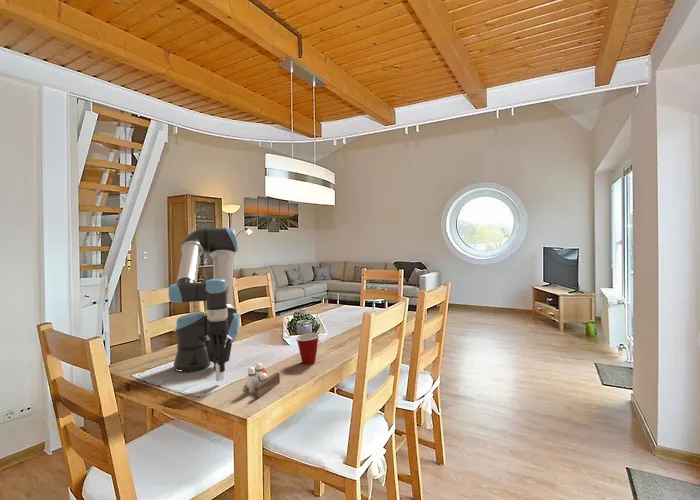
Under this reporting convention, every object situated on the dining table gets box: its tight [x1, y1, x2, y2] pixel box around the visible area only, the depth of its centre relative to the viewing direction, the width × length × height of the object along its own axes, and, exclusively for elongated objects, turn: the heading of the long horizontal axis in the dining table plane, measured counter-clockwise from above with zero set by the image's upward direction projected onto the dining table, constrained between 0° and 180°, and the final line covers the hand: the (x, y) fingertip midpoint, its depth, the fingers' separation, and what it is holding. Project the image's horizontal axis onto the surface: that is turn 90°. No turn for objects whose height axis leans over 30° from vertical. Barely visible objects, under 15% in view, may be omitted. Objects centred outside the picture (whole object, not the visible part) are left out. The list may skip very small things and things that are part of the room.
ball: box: [254, 366, 268, 378], centre depth 153 cm, size 6×6×6 cm
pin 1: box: [247, 366, 257, 394], centre depth 143 cm, size 2×2×9 cm
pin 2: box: [255, 362, 263, 386], centre depth 148 cm, size 2×2×9 cm
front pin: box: [245, 372, 269, 389], centre depth 146 cm, size 2×2×9 cm
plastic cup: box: [295, 332, 320, 365], centre depth 175 cm, size 11×11×12 cm
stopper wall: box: [254, 372, 281, 400], centre depth 144 cm, size 2×15×4 cm, turn 161°
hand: (219, 379), depth 151 cm, fingers closed
